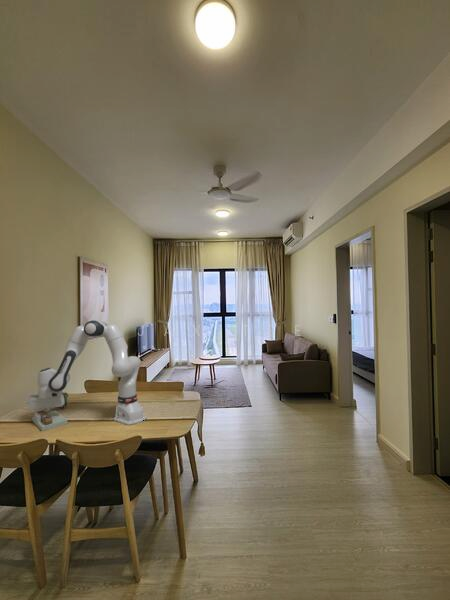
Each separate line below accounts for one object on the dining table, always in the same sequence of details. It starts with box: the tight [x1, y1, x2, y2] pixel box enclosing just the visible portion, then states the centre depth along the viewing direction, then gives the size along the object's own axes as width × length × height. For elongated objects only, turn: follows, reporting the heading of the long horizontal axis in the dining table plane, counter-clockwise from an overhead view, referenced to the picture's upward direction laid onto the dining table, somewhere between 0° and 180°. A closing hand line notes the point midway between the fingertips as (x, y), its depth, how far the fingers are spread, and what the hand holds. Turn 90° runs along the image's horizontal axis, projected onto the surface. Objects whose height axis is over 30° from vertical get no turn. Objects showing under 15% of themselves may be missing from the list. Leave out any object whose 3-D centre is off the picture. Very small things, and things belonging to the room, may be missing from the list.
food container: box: [53, 391, 69, 410], centre depth 210 cm, size 12×6×10 cm, turn 74°
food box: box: [31, 409, 69, 432], centre depth 184 cm, size 24×14×6 cm, turn 46°
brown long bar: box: [36, 409, 52, 425], centre depth 180 cm, size 18×4×4 cm, turn 47°
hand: (47, 414), depth 186 cm, fingers closed, pressing on brown long bar
